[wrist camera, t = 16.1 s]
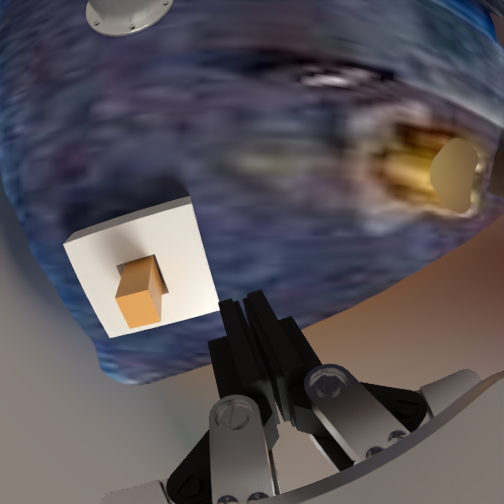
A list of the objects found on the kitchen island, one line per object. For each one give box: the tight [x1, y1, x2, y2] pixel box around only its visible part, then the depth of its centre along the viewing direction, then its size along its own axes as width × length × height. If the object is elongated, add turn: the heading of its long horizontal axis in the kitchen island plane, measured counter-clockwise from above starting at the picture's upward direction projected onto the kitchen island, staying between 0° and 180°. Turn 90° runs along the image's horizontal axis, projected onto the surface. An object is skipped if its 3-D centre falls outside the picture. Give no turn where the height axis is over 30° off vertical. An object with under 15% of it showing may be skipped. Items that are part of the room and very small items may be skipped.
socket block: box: [63, 196, 220, 338], centre depth 37 cm, size 16×18×4 cm
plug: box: [115, 256, 163, 329], centre depth 33 cm, size 4×4×10 cm
